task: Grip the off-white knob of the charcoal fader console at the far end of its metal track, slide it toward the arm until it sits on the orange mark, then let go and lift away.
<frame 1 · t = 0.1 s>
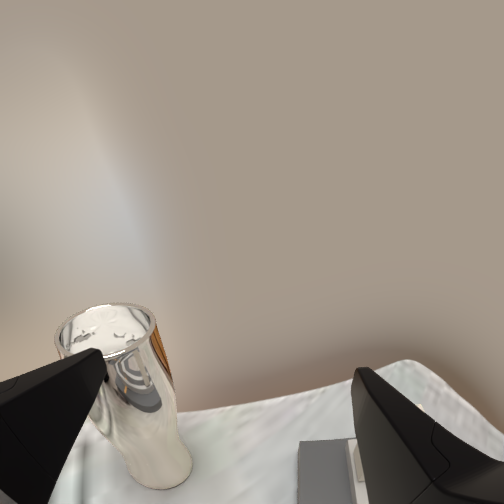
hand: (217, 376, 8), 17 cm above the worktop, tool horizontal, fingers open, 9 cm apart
fader knob: (388, 449, 14), point 5 cm above the worktop, slide at 8.0 cm
beer glass: (160, 464, 18), on the worktop
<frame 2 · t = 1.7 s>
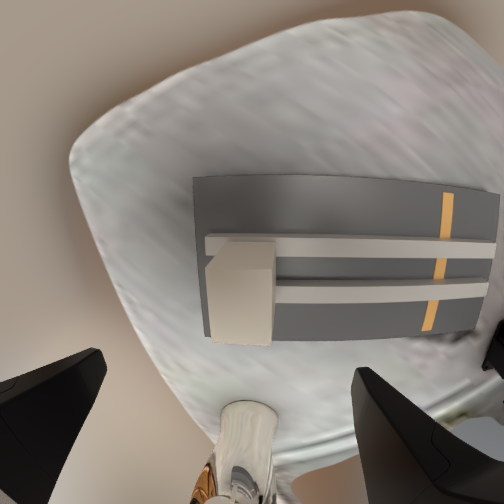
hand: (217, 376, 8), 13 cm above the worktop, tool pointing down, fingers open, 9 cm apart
fader knob: (247, 284, 16), point 5 cm above the worktop, slide at 8.0 cm
beer glass: (249, 417, 26), on the worktop
fader console: (362, 258, 20), on the worktop
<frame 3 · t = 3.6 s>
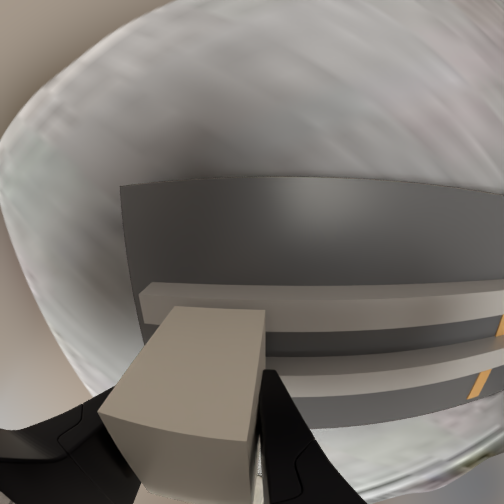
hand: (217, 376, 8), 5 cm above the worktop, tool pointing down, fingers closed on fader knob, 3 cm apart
fader knob: (210, 394, 8), point 5 cm above the worktop, slide at 8.0 cm, touching gripper
beer glass: (237, 482, 18), on the worktop
fader console: (403, 310, 12), on the worktop
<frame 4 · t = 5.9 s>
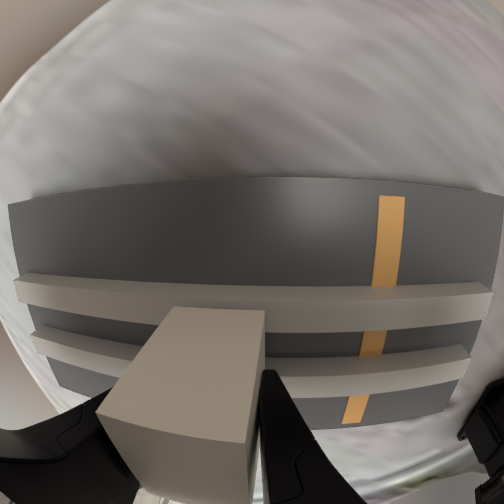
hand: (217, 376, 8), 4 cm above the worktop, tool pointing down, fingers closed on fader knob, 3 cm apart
fader knob: (209, 395, 8), point 5 cm above the worktop, slide at -0.2 cm, touching gripper
beer glass: (150, 466, 19), on the worktop
fader console: (233, 312, 13), on the worktop
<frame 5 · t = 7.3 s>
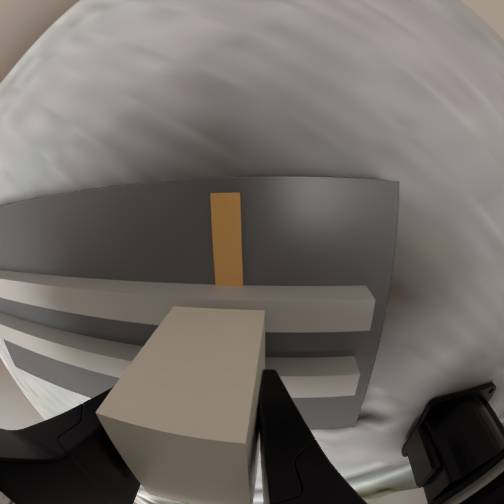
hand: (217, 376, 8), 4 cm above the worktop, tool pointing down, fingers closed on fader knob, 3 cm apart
fader knob: (210, 395, 7), point 5 cm above the worktop, slide at -5.9 cm, touching gripper
fader console: (125, 304, 13), on the worktop
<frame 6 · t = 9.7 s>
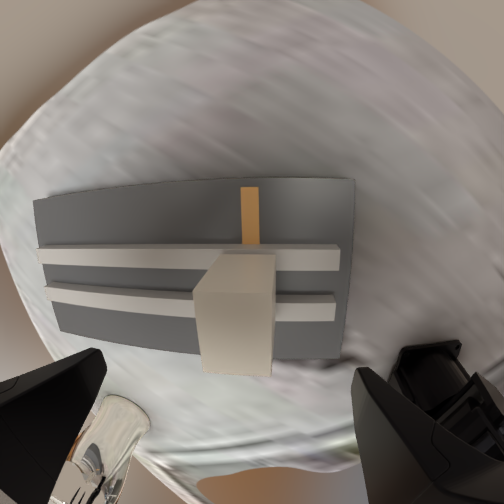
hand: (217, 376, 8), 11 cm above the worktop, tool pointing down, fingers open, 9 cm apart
fader knob: (244, 304, 14), point 5 cm above the worktop, slide at -6.0 cm
beer glass: (127, 412, 26), on the worktop
fader console: (171, 266, 20), on the worktop
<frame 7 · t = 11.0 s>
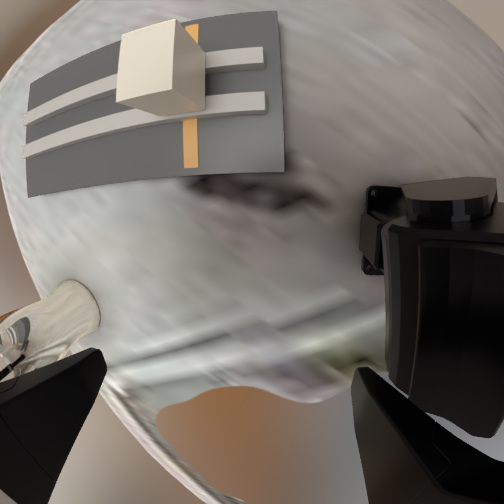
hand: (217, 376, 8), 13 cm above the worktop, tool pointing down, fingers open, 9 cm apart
fader knob: (169, 75, 13), point 5 cm above the worktop, slide at -6.0 cm
beer glass: (80, 305, 25), on the worktop
fader console: (130, 109, 19), on the worktop
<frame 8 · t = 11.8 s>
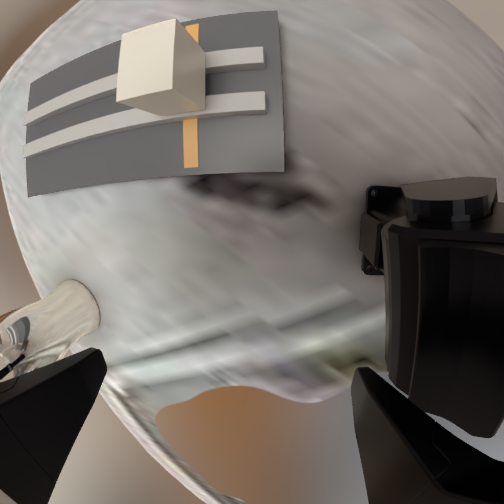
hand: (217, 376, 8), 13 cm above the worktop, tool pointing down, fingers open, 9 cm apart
fader knob: (169, 74, 13), point 5 cm above the worktop, slide at -6.0 cm
beer glass: (79, 305, 25), on the worktop
fader console: (130, 109, 19), on the worktop
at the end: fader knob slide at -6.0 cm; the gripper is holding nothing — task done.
